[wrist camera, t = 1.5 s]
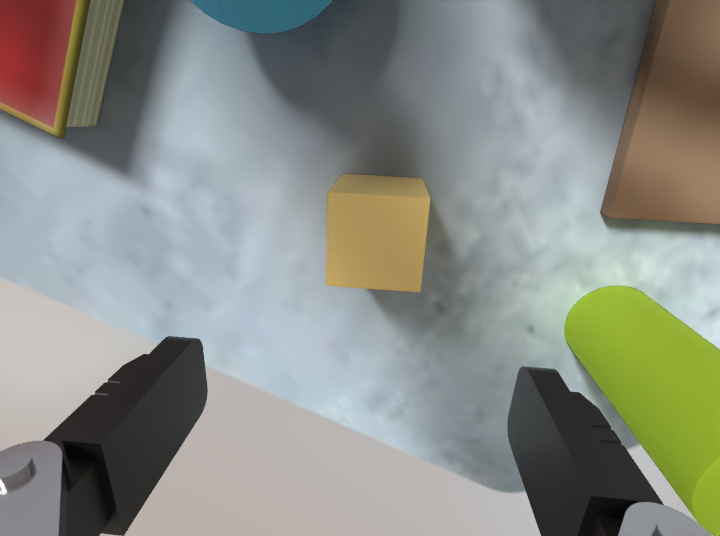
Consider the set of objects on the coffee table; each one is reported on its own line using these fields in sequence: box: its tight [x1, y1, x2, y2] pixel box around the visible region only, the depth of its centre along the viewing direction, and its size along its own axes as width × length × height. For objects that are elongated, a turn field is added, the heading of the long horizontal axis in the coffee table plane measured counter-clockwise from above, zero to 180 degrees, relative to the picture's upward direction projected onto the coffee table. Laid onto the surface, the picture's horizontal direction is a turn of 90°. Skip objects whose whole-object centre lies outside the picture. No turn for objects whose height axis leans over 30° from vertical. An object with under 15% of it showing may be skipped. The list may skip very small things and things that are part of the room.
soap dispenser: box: [564, 286, 720, 536], centre depth 19 cm, size 6×7×20 cm
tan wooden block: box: [326, 174, 431, 292], centre depth 23 cm, size 5×5×6 cm
